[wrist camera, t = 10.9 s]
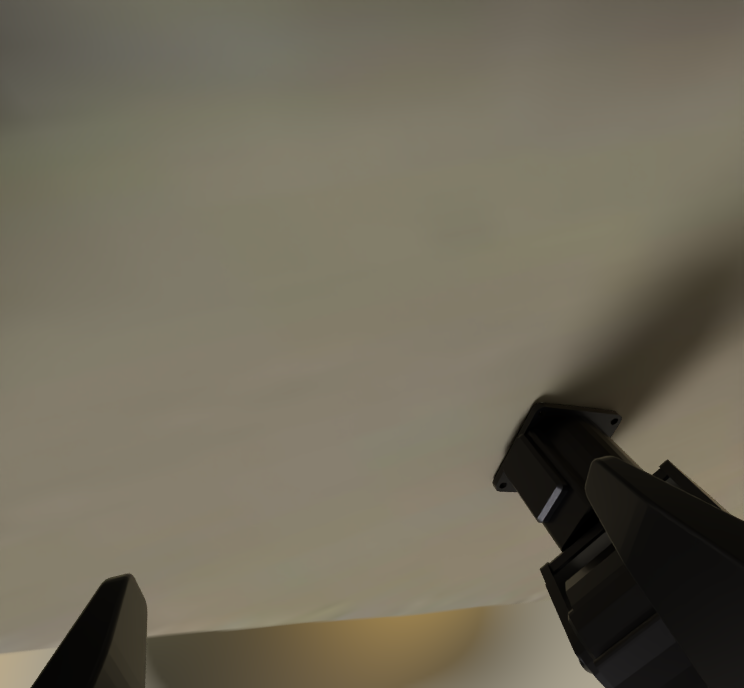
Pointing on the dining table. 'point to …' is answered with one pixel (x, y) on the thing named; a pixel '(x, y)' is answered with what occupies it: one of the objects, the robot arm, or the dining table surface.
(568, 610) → the robot arm
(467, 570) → the dining table surface
